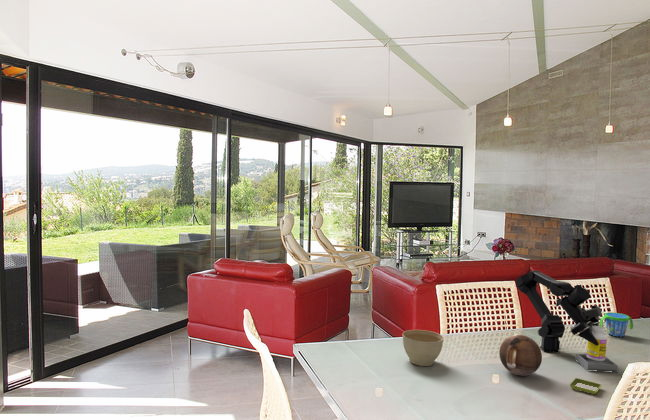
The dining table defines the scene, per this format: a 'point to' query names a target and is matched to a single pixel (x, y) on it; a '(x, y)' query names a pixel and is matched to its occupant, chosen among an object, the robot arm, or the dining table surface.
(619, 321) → the snack cup
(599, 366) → the tray
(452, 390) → the dining table surface
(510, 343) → the wooden sphere
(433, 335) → the planter bowl
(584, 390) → the green rectangular frame
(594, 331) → the supplement bottle
